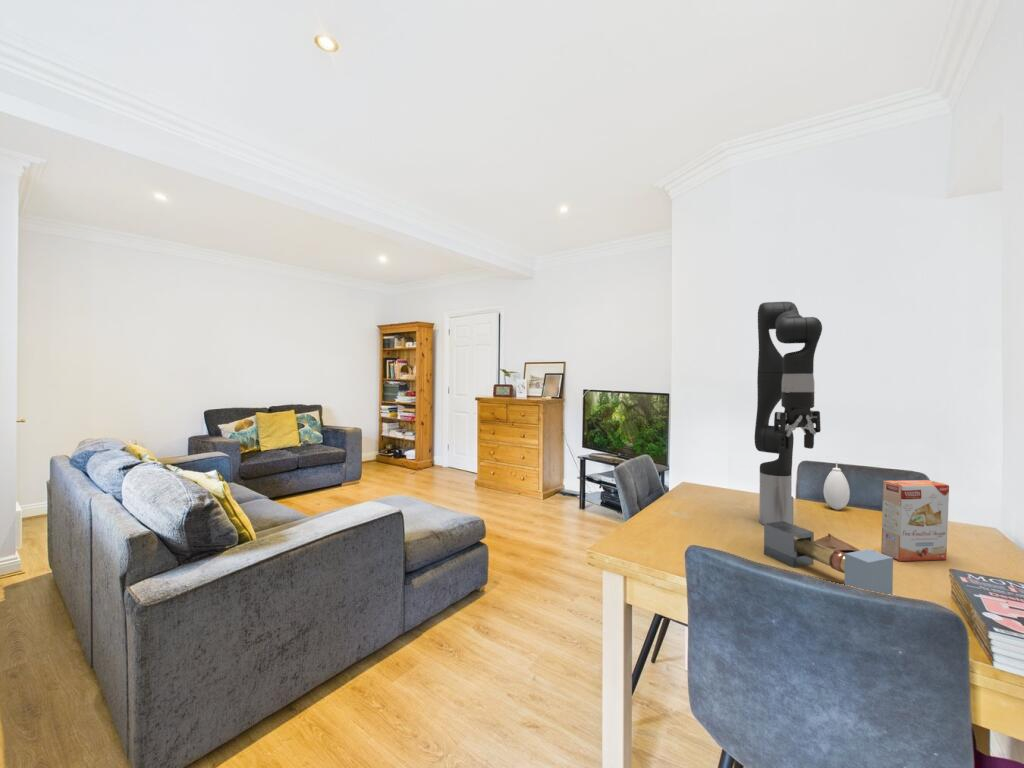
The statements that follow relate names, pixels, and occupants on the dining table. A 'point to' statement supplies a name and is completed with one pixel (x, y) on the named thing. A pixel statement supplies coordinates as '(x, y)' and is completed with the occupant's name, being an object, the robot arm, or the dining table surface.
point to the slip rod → (822, 554)
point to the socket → (869, 571)
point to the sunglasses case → (835, 544)
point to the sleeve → (786, 543)
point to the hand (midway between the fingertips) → (797, 449)
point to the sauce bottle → (836, 489)
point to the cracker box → (915, 520)
